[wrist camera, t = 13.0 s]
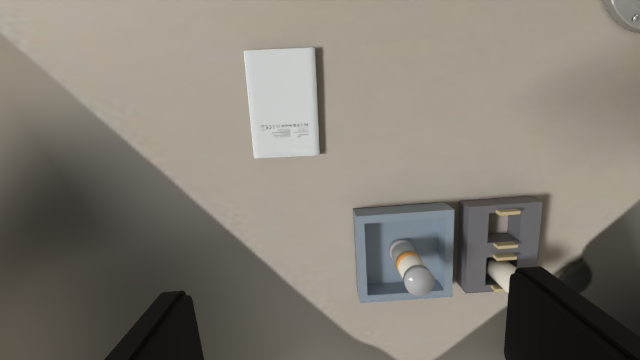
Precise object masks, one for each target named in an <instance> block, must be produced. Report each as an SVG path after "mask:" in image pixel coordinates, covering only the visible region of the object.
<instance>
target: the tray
mask: <svg viewBox="0 0 640 360" xmlns="http://www.w3.org/2000/svg"><path fill="white" fill-rule="evenodd" d="M353 216H354V235H355V254H356V273H357V290H358V295H359V300H360V303H365V302H380V301H395V300H410V299H425V298H439V297H452V279H453V244H454V209H453V208H452V207H450V206H449V205H448V204H446V203H445V202H439V203H425V204H411V205H397V206H383V207H369V208H356V209H353ZM396 239H406V240H408V241H409V242H410V243H411V244H412V246H413V247H414V250H415V251H416V253H417V254H418V255H419V256H420V258H421V259H422V261H423V263H424V264H425V266H426V267H427V268H428V269H429V270H430V272H431V273H432V275H433V276H434V278H435V285H434V287H433V289H432V290H431V291H430V292H429V293H428V294H426V295H423V296H416V295H413V294H411V293H410V292H409V291H408V290H407V288H406V286H405V284H404V282H403V278H402V276H401V275H400V273H399V271H398V269H397V267H396V264H395V262H394V261H393V260H392V258H391V256H390V254H389V246H390V244H391V243H392V242H393V241H394V240H396Z"/></svg>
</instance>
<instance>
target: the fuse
mask: <svg viewBox="0 0 640 360" xmlns="http://www.w3.org/2000/svg"><path fill="white" fill-rule="evenodd" d="M516 269H517V268H516V267H515V266H514V265H513V264H511V263H510V262H509V261H508V260H503V261H497V260H496V259H494V258H493V257H487V259H486V273H487V274H489V275H490V276H491V277H492V278H493V279H494V280H495V281H496V282H497V283H498V284H499V285H500V286H501V287H502V288H503V289H504V290H505V291H506V292H507V293H509V280H510V276H511V274H513V273H515V270H516Z"/></svg>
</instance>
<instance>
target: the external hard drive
mask: <svg viewBox="0 0 640 360" xmlns="http://www.w3.org/2000/svg"><path fill="white" fill-rule="evenodd" d="M244 60H245V70H246V80H247V91H248V101H249V111H250V121H251V132H252V142H253V152H254V158H272V157H294V156H317V155H320V150H319V126H318V103H317V80H316V58H315V48H314V47H308V48H287V49H266V50H246V51H245V50H244Z"/></svg>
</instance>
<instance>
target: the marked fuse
mask: <svg viewBox="0 0 640 360" xmlns="http://www.w3.org/2000/svg"><path fill="white" fill-rule="evenodd" d="M389 254H390V256H391V258H392V260H393V261H394V262H395V264H396V267H397V269H398V271H399V273H400V275H401V276H402V278H403V282H404V284H405V286H406V288H407V290H408V291H409V292H410V293H411V294H413V295H416V296H423V295H426V294H428V293H429V292H430V291H431V290H432V289H433V287H434V285H435V278H434V276H433V275H432V273H431V272H430V270H429V269H428V268H427V267H426V266H425V264H424V263H423V261H422V259H421V258H420V256H419V255H418V254H417V253H416V251H415V250H414V247H413V246H412V244H411V243H410V242H409V241H408V240H406V239H396V240H394V241H393V242H392V243H391V244H390V246H389Z"/></svg>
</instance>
